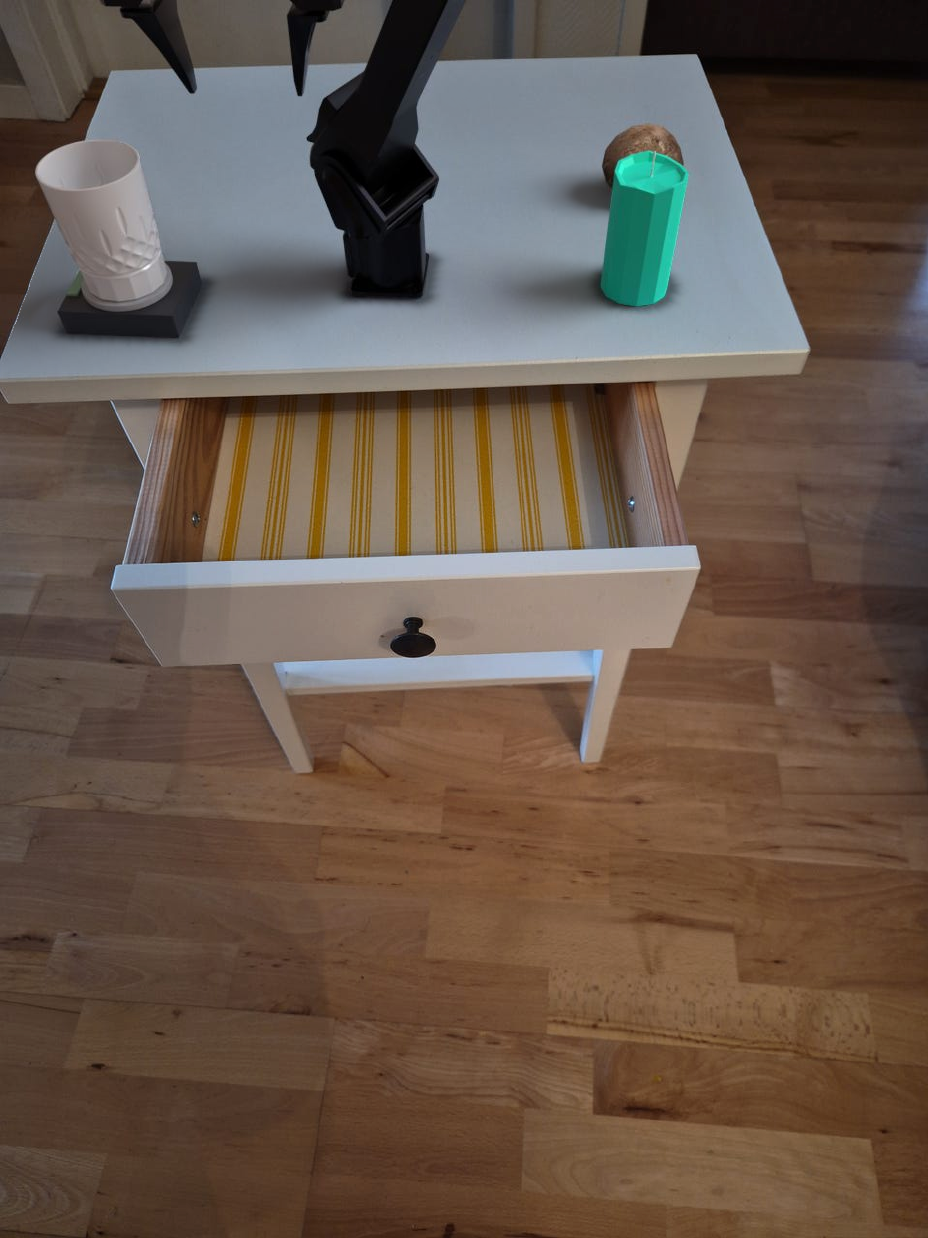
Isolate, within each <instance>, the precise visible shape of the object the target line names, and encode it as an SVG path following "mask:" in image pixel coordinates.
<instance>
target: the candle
mask: <svg viewBox="0 0 928 1238" xmlns="http://www.w3.org/2000/svg"><path fill="white" fill-rule="evenodd" d="M689 176H690V172H689V171H688V170H687V169H686V168H685V166H682V165H681V164H679V163H678V162H676V161H674V160H673V159H671V158H669V157H668V156H665V155H662V154H659V153H656V151H654V152H652V151H645V152H641V153H636V154H632V155H629V156H627V157H625V158H623V159H621V160H619V161H618V163H617V166H616V169H615V172H614V180H613V189H612V190H611V196H610V197H611V198H610V206H609V212H608V213H609V214H608V220H607V221H608V223H607V230H606V238H605V247H604V255H603V262H602V270H601V276H600V277H601V279H600V286H599V287H600V288H601V290H602V292H603V294H604V296H605V297H607V298H608V299H609V300H611V301H614V302H615V303H618V304H619V305H625V306H629V307H630V306H632V307H636V308H637V307H642V306H648V305H654V304H656V303H658V302H659V301H660V300H662V299H663V298H665V296H666V293H667V290H668V285H669V281H670V275H671V270H672V265H673V260H674V254H675V250H676V245H677V239H678V233H679V228H680V223H681V218H682V212H683V207H684V201H685V196H686V191H687V187H688V182H689Z"/></svg>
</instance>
